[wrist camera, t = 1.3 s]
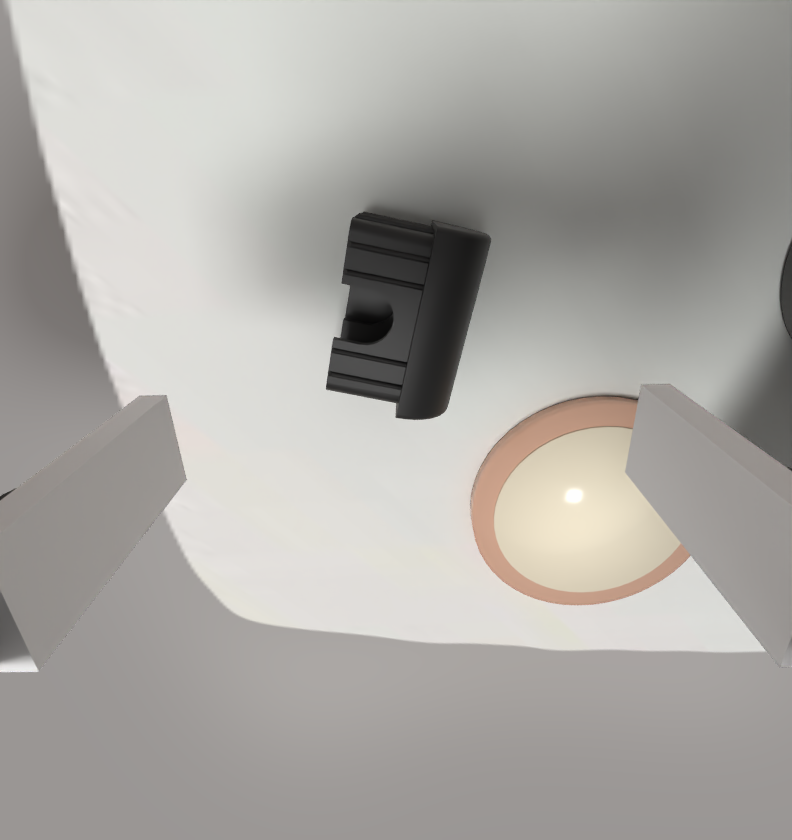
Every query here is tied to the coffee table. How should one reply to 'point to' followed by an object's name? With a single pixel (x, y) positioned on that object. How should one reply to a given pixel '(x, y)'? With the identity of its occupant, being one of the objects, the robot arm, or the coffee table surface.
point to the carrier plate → (571, 508)
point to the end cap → (406, 311)
